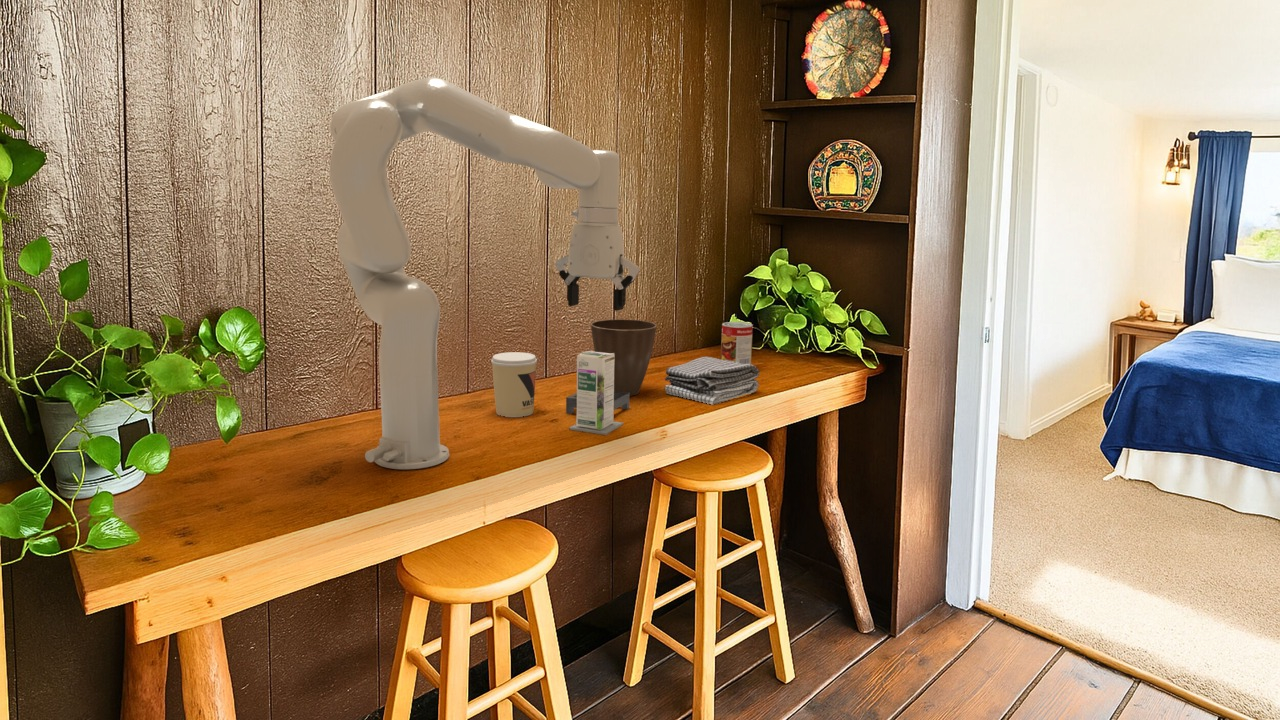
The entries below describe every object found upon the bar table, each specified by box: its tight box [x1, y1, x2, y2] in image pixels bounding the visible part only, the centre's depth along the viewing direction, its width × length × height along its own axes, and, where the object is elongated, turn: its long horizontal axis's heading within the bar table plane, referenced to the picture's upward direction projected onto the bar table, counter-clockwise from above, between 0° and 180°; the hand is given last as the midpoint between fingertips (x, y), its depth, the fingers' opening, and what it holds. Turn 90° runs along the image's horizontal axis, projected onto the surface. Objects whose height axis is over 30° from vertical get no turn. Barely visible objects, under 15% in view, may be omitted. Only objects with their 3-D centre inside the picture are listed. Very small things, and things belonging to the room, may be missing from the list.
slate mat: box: [568, 420, 624, 436], centre depth 171 cm, size 8×8×1 cm
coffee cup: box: [490, 351, 538, 418], centre depth 180 cm, size 9×9×12 cm
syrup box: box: [575, 350, 615, 430], centre depth 170 cm, size 6×6×14 cm
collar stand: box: [565, 391, 631, 415], centre depth 183 cm, size 10×10×4 cm
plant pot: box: [590, 318, 657, 397], centre depth 198 cm, size 15×15×16 cm
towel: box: [664, 356, 760, 406], centre depth 200 cm, size 15×18×8 cm
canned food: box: [720, 321, 754, 365], centre depth 224 cm, size 8×8×12 cm
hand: (595, 307), depth 166 cm, fingers open, 9 cm apart
